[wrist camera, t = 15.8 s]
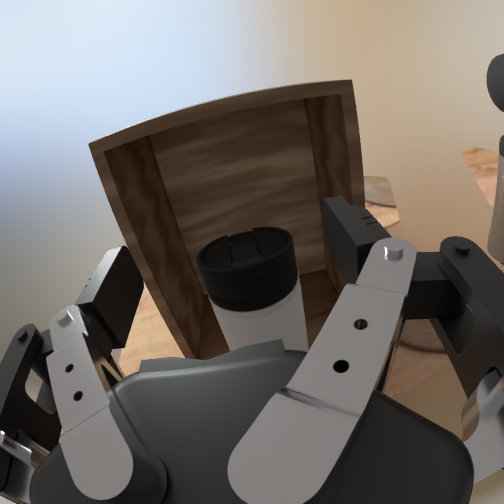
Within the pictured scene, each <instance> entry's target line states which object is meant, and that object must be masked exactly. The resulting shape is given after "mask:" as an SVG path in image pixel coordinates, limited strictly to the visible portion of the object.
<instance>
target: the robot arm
mask: <svg viewBox="0 0 504 504" xmlns="http://www.w3.org/2000/svg"><path fill="white" fill-rule="evenodd" d="M487 88H488V92H489V95H490V97H491V99H492V101H493V102H494V104H495V105H496V106H497V107H498V108H499V109H500V110H501V111H503V112H504V54H501V55H498V56H496V57H495V58H494V59H493V60H492V61H491V63H490V65H489V67H488V71H487ZM322 208H323V217H324V225H325V235H326V240H327V244H328V248H329V250H330V252H331V254H332V256H333V258H334V260H335V262H336V264H337V266H338V268H339V270H340V272H341V274H342V276H343V278H344V280H345V282H346V285H345V287H344V289H343V291H342V293H341V294H340V296H339V298H338V300H337V302H336V304H335V306H334V307H333V309H332V311H331V313H330V315H329V317H328V318H327V320H326V322H325V324H324V325H323V327H322V329H321V331H320V333H319V334H318V336H317V338H316V339H315V341H314V343H313V345H312V346H311V348H310V350H309V351H308V352H305V351H300V350H285V348H284V344H283V340H282V339H278V340H273V341H268V342H263V343H258V344H253V345H247V346H243V347H241V348H238V349H236V350H233V351H230V352H228V353H225V354H222V355H220V356H217V357H214V358H211V359H208V360H198V359H187V358H177V357H167V358H159V359H149V360H141V364H140V369H139V371H138V372H136V373H133V374H131V375H129V376H127V377H125V375H124V373H123V371H122V370H121V368H120V366H119V364H118V362H117V360H116V358H115V357H114V356H113V354H112V353H111V352H112V349H119V348H125V345H126V342H127V338H128V335H129V332H130V329H131V326H132V322H133V319H134V316H135V313H136V310H137V307H138V304H139V301H140V298H141V295H142V292H143V289H144V282H143V278H142V275H141V273H140V271H139V269H138V267H137V265H136V263H135V261H134V259H133V257H132V255H131V253H130V251H129V249H128V248H127V247H126V246H121V247H117V248H113V249H110V250H108V251H107V253H106V254H105V256H104V258H103V260H102V261H101V263H100V264H99V266H98V267H97V268H96V269H95V270H94V271H93V273H92V274H91V276H90V278H89V281H88V282H87V283H86V285H85V287H84V288H83V290H82V292H81V294H80V296H79V297H78V299H77V301H76V303H75V305H71V306H67V307H65V308H63V309H62V310H60V311H59V312H58V313H57V314H56V315H55V316H54V317H53V319H52V320H51V322H50V329H48V330H46V331H43V332H41V333H40V332H39V331H38V329H37V328H36V327H35V325H34V324H28V325H25V326H23V327H22V328H21V329H20V330H19V331H18V332H17V333H16V334H15V336H14V337H13V339H12V341H11V343H10V345H9V347H8V349H7V351H6V353H5V355H4V357H3V360H2V362H1V364H0V496H2V497H4V498H6V499H8V500H10V501H12V502H14V503H16V504H469V501H470V497H471V493H472V488H473V485H474V484H476V483H478V482H480V481H481V480H483V479H485V478H486V477H488V476H490V475H492V474H494V473H495V472H497V471H498V470H500V469H504V274H503V272H502V271H501V270H500V269H499V268H498V267H497V266H496V264H495V263H494V262H493V261H492V260H491V259H490V258H489V257H488V256H487V255H486V254H485V253H484V252H483V250H482V249H481V248H480V247H478V245H477V244H476V243H474V242H473V241H471V240H469V239H467V238H463V237H457V236H454V237H448V238H446V239H444V240H443V241H442V242H441V246H440V252H417V251H416V248H415V246H414V245H413V244H412V243H410V242H408V241H406V240H404V239H400V238H392V237H391V236H390V234H389V233H388V232H387V231H386V230H385V229H384V228H383V227H382V225H381V224H380V223H378V221H377V220H376V219H375V218H374V217H373V215H372V214H371V213H370V212H369V211H368V210H367V209H365V208H363V207H361V206H358V205H353V206H350V204H349V203H348V202H347V201H346V200H345V199H344V198H343V196H342V195H339V196H334V197H329V198H324V199H322ZM487 249H488V251H489V253H490V255H492V257H493V258H495V259H496V260H497V261H499V262H501V263H503V264H504V135H503V136H502V137H501V138H500V143H499V164H498V177H497V187H496V195H495V203H494V210H493V217H492V222H491V228H490V233H489V237H488V243H487ZM467 304H468V306H469V307H470V308H471V310H472V312H471V310H470V309H469V307H468V306H467ZM410 319H429V320H430V322H431V324H432V326H433V327H434V329H435V331H436V333H437V335H438V337H439V339H440V341H441V343H442V345H443V347H444V348H445V350H446V352H447V355H448V357H449V359H450V361H451V363H452V365H453V367H454V369H455V371H456V373H457V375H458V378H459V380H460V382H461V384H462V387H463V389H464V391H465V393H466V396H467V398H468V400H467V402H466V403H465V405H464V407H463V410H462V415H461V418H462V425H463V437H462V440H460V439H459V438H458V437H457V436H456V435H454V434H453V433H452V432H450V431H448V430H446V429H444V428H442V427H441V426H439V425H437V424H435V423H433V422H432V421H430V420H428V419H426V418H425V417H423V416H421V415H419V414H417V413H416V412H414V411H412V410H410V409H408V408H407V407H405V406H403V405H402V404H400V403H398V402H396V401H395V400H393V399H392V398H390V397H388V396H386V395H385V394H383V391H384V389H385V386H386V383H387V380H388V377H389V374H390V371H391V368H392V364H393V361H394V358H395V355H396V352H397V349H398V346H399V343H400V340H401V336H402V333H403V329H404V326H405V322H406V320H410ZM30 369H32V370H33V371H34V372H35V373H36V374H37V375H38V376H39V377H40V378H41V379H42V380H43V383H42V386H41V389H40V391H39V395H38V398H37V401H36V403H35V402H34V401H33V400H32V399H31V398H30V397H29V396H28V395H27V393H26V391H25V383H26V380H27V378H28V375H29V372H30ZM62 428H63V434H62V435H61V436H60V433H61V429H62ZM59 438H60V443H59ZM58 443H59V444H58Z"/></svg>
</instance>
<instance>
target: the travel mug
mask: <svg viewBox="0 0 504 504" xmlns="http://www.w3.org/2000/svg"><path fill="white" fill-rule="evenodd" d="M252 230H253V231H246V232H242V233H238V234H235V235H232V236H230V237H228V236H227V235H225V236H222V237H220V238H217V239H215V240H214V241H212V242H210V243H209V244H207V245H206V246H205V247H204V248H203V249H202V250H201V251H200V252H199V253H198V255H197V258H196V261H197V265H198V268H199V271H200V273H201V276H202V279H203V281H204V284H205V286H206V288H207V292H208V297H209V299H210V302H211V303H212V307H213V310H214V312H215V315H216V317H217V320H218V322H219V325H220V327H221V330H222V332H223V334H224V337H225V339H226V342H227V344H228V347H229V349H230V351H233V350H236V349H238V348H241V347H243V346H247V345H253V344H258V343H263V342H268V341H273V340H278V339H282V340H283V344H284V348H285V350H300V351H305V352H308V351H309V347H308V339H307V331H306V322H305V315H304V307H303V300H302V292H301V285H300V281H299V272H298V269H297V265H296V257H295V250H294V244H293V238H292V235H291V234H290V233H289V232H288V231H286V230H284V229H281V228H277V227H256V228H252Z"/></svg>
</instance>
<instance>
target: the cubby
mask: <svg viewBox="0 0 504 504" xmlns="http://www.w3.org/2000/svg"><path fill="white" fill-rule="evenodd" d="M88 145H89V148H90V151H91V154H92V157H93V160H94V163H95V166H96V168H97V171H98V174H99V177H100V179H101V182H102V185H103V187H104V190H105V193H106V196H107V198H108V201H109V203H110V206H111V208H112V211H113V213H114V216H115V218H116V221H117V223H118V225H119V228H120V230H121V232H122V235H123V237H124V239H125V242H126V244H127V246H128V248H129V251H130V253H131V255H132V257H133V259H134V261H135V263H136V265H137V267H138V269H139V271H140V273H141V275H142V278H143V280H144V282H145V284H146V286H147V288H148V290H149V292H150V294H151V296H152V298H153V300H154V302H155V304H156V306H157V308H158V310H159V312H160V314H161V315H162V317H163V319H164V321H165V323H166V325H167V327H168V328H169V330H170V332H171V334H172V336H173V337H174V339H175V341H176V343H177V344H178V346H179V348H180V350H181V351H182V353H183V355H184V356H185V358H187V359H198V354H199V342H200V331H201V321H202V311H203V301H204V295H205V294H208V292H207V288H206V286H205V284H204V281H203V279H202V276H201V273H200V271H199V268H198V265H197V261H196V258H197V255H198V253H199V252H200V251H201V250H202V249H203V248H204V247H205V246H206V245H207V244H209V243H210V242H212V241H214V240H215V239H217V238H220V237H222V236H225V235H227V236H228V237H230V236H232V235H235V234H238V233H242V232H246V231H253V230H252V228H256V227H277V228H281V229H284V230H286V231H288V232H289V233H290V234H291V235H292V238H293V244H294V250H295V257H296V265H297V269H298V272H299V275H302V274H307V273H312V272H316V271H320V270H325V269H326V270H327V272H328V274H329V277H330V279H331V281H332V283H333V285H334V287H335V290H336V292H337V294H338V296H340V294H341V293H342V291H343V289H344V287H345V285H346V282H345V280H344V278H343V276H342V274H341V272H340V270H339V268H338V266H337V264H336V262H335V260H334V258H333V256H332V254H331V252H330V250H329V248H328V244H327V240H326V235H325V225H324V217H323V208H322V199H324V198H329V197H334V196H339V195H342V196H343V198H344V199H345V200H346V201H347V202H348V203H349V204H350V206H353V205H358V206H361V207H363V208H365V195H364V178H363V165H362V154H361V143H360V135H359V126H358V118H357V111H356V104H355V97H354V90H353V84H352V80H334V81H320V82H309V83H301V84H294V85H286V86H280V87H274V88H268V89H262V90H258V91H252V92H247V93H242V94H237V95H233V96H228V97H224V98H220V99H215V100H211V101H208V102H204V103H200V104H197V105H193V106H189V107H186V108H182V109H179V110H176V111H172V112H169V113H166V114H163V115H160V116H156V117H153V118H151V119H148V120H145V121H142V122H139V123H136V124H134V125H131V126H129V127H126V128H124V129H121V130H119V131H116V132H114V133H112V134H109V135H107V136H105V137H102V138H100V139H98V140H96V141H93V142H91V143H89V144H88Z"/></svg>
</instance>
